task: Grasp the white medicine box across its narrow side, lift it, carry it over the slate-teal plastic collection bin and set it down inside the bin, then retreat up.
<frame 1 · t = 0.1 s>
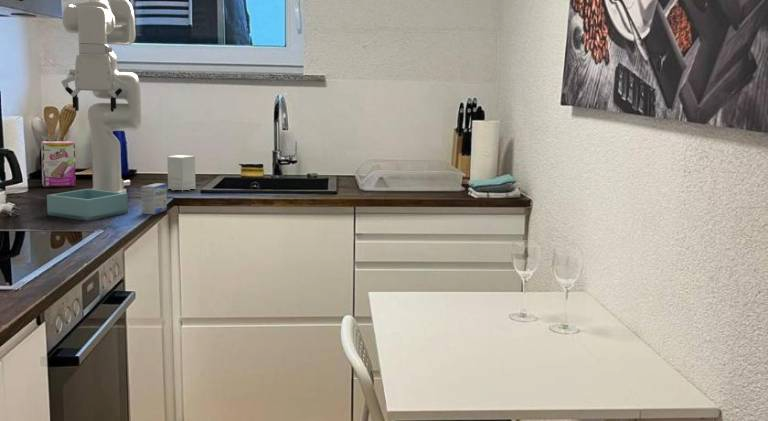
hand: (94, 110, 219), 31 cm above the kitchen counter, tool pointing down, fingers open, 9 cm apart
candy bar box: (59, 186, 280), on the kitchen counter
collection bin: (88, 213, 228), on the kitchen counter
supplement box: (181, 190, 281), on the kitchen counter
medicine box: (154, 213, 234), on the kitchen counter
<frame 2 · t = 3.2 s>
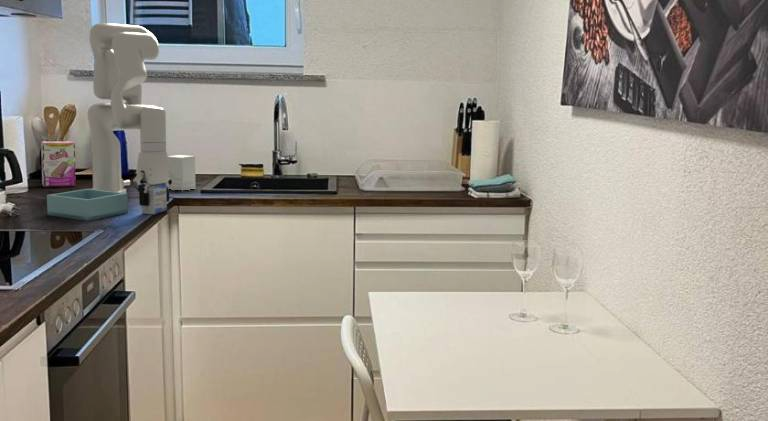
hand: (154, 203, 234), 3 cm above the kitchen counter, tool pointing down, fingers closed on medicine box, 8 cm apart
medicine box: (154, 212, 234), on the kitchen counter, touching gripper
everything else where it was.
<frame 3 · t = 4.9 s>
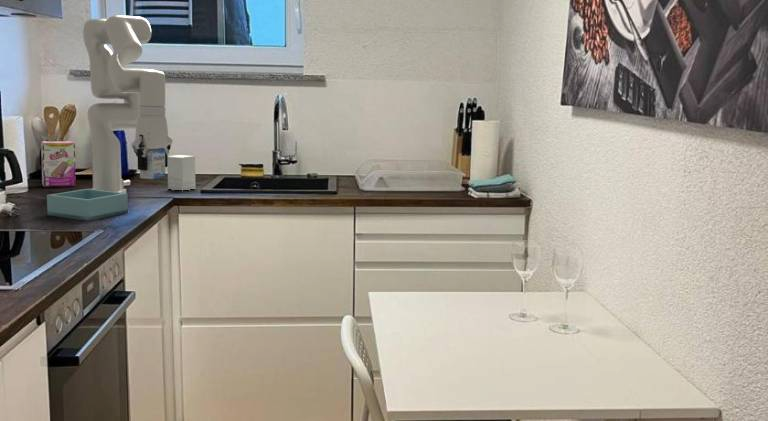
hand: (152, 168, 232), 14 cm above the kitchen counter, tool pointing down, fingers closed on medicine box, 8 cm apart
medicine box: (152, 178, 233), point 11 cm above the kitchen counter, touching gripper
everything else where it was.
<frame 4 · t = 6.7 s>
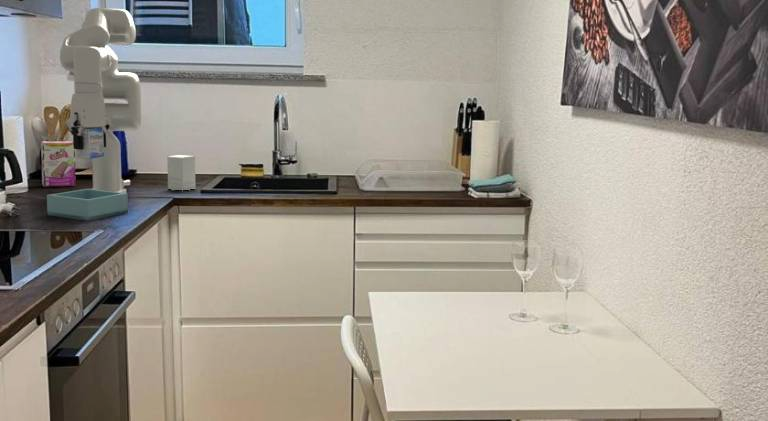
hand: (90, 147, 225), 20 cm above the kitchen counter, tool pointing down, fingers closed on medicine box, 8 cm apart
medicine box: (90, 158, 225), point 17 cm above the kitchen counter, touching gripper
everything else where it was.
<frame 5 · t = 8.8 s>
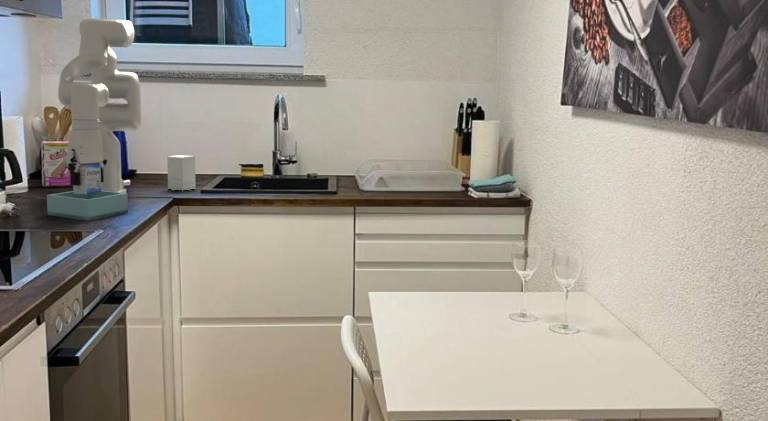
hand: (87, 183, 226), 9 cm above the kitchen counter, tool pointing down, fingers closed on medicine box, 8 cm apart
medicine box: (87, 193, 227), point 6 cm above the kitchen counter, touching gripper
everything else where it was.
when the fingers open (6 cm above the kitchen counter, at t = 10.6 s): medicine box drops 2 cm, resting on collection bin.
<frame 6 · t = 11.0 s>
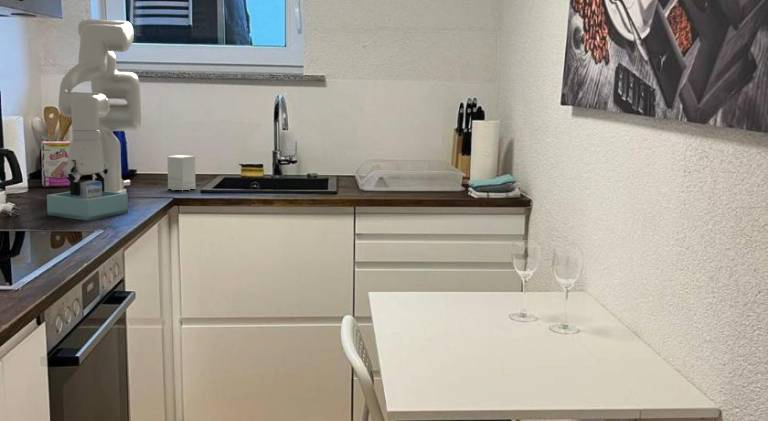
hand: (87, 193, 227), 6 cm above the kitchen counter, tool pointing down, fingers open, 9 cm apart
medicine box: (88, 211, 228), point 1 cm above the kitchen counter, touching collection bin
everything else where it was.
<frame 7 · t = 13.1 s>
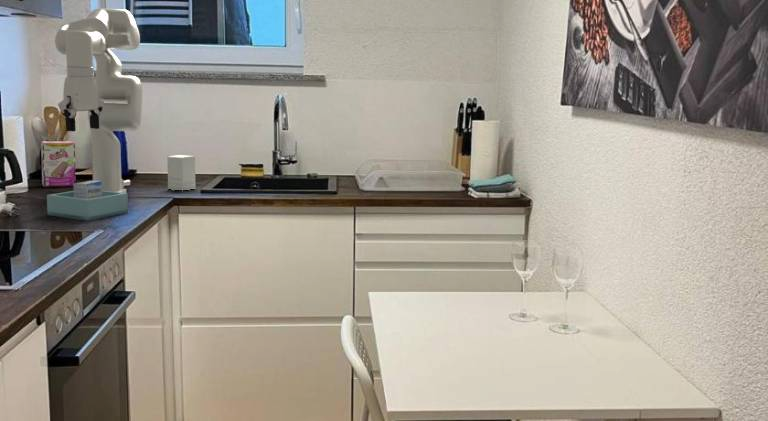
hand: (83, 129, 231), 25 cm above the kitchen counter, tool pointing down, fingers open, 9 cm apart
nothing on the kitchen counter moved.
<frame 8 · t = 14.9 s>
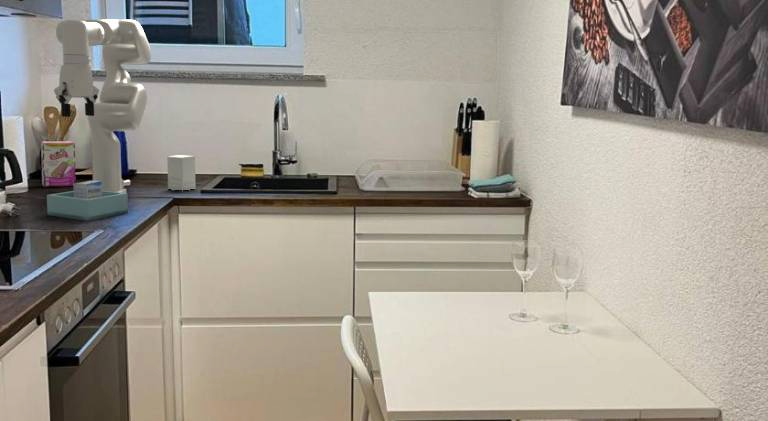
hand: (78, 116, 238), 28 cm above the kitchen counter, tool pointing down, fingers open, 9 cm apart
nothing on the kitchen counter moved.
at the end: medicine box inside the target area on the collection bin (0.2 cm from its centre), point 0.8 cm above the collection bin's base; the gripper is holding nothing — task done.
